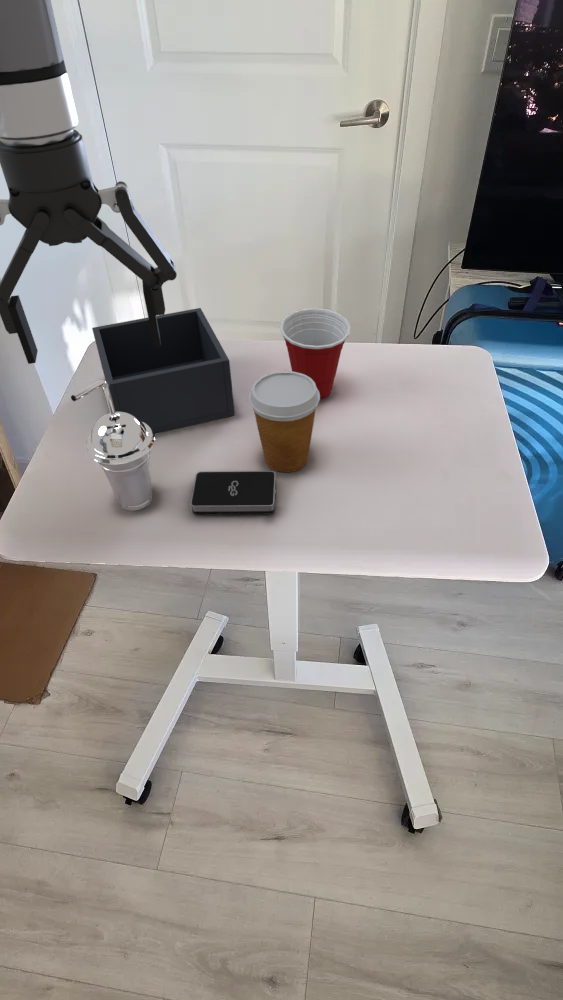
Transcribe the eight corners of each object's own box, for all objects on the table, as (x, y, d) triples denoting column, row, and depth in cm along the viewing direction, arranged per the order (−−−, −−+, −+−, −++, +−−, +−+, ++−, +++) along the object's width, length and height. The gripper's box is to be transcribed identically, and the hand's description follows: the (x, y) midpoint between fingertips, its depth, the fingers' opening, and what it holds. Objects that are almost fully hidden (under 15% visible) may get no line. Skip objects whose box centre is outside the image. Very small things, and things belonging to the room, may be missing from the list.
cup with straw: (178, 502, 85) (152, 374, 71) (118, 532, 81) (78, 404, 67) (148, 470, 90) (119, 346, 76) (90, 498, 86) (48, 372, 72)
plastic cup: (299, 417, 98) (298, 349, 90) (271, 383, 105) (268, 317, 97) (359, 399, 101) (364, 331, 93) (329, 367, 108) (330, 302, 100)
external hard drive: (198, 482, 88) (196, 471, 86) (277, 481, 87) (276, 470, 86) (191, 517, 82) (189, 506, 81) (275, 516, 82) (274, 505, 81)
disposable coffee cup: (331, 450, 92) (333, 380, 83) (297, 488, 86) (295, 417, 78) (276, 431, 96) (273, 362, 87) (240, 466, 90) (233, 396, 82)
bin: (121, 441, 95) (106, 384, 88) (105, 380, 108) (91, 327, 101) (235, 415, 99) (229, 359, 92) (207, 360, 111) (200, 307, 105)
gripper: (176, 111, 59) (203, 319, 74) (-102, 136, 56) (-16, 347, 71) (182, 131, 54) (210, 351, 68) (-125, 159, 51) (-26, 382, 65)
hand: (95, 349), depth 70 cm, fingers open, 13 cm apart
